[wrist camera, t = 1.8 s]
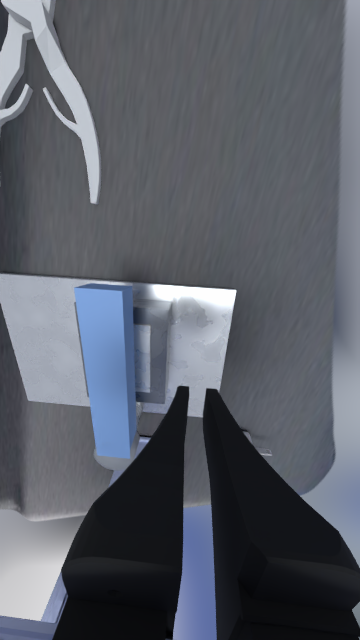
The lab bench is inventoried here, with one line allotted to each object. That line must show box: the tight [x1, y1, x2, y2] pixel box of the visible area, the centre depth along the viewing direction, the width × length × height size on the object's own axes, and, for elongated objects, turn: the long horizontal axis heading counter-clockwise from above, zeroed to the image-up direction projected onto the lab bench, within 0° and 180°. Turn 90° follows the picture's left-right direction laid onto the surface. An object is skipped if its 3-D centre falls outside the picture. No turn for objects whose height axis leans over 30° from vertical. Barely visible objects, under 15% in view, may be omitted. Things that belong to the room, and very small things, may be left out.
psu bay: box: [0, 272, 236, 430], centre depth 18 cm, size 16×24×5 cm, turn 87°
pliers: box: [0, 0, 101, 205], centre depth 13 cm, size 10×2×15 cm
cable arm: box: [74, 283, 140, 471], centre depth 15 cm, size 17×4×2 cm, turn 177°
